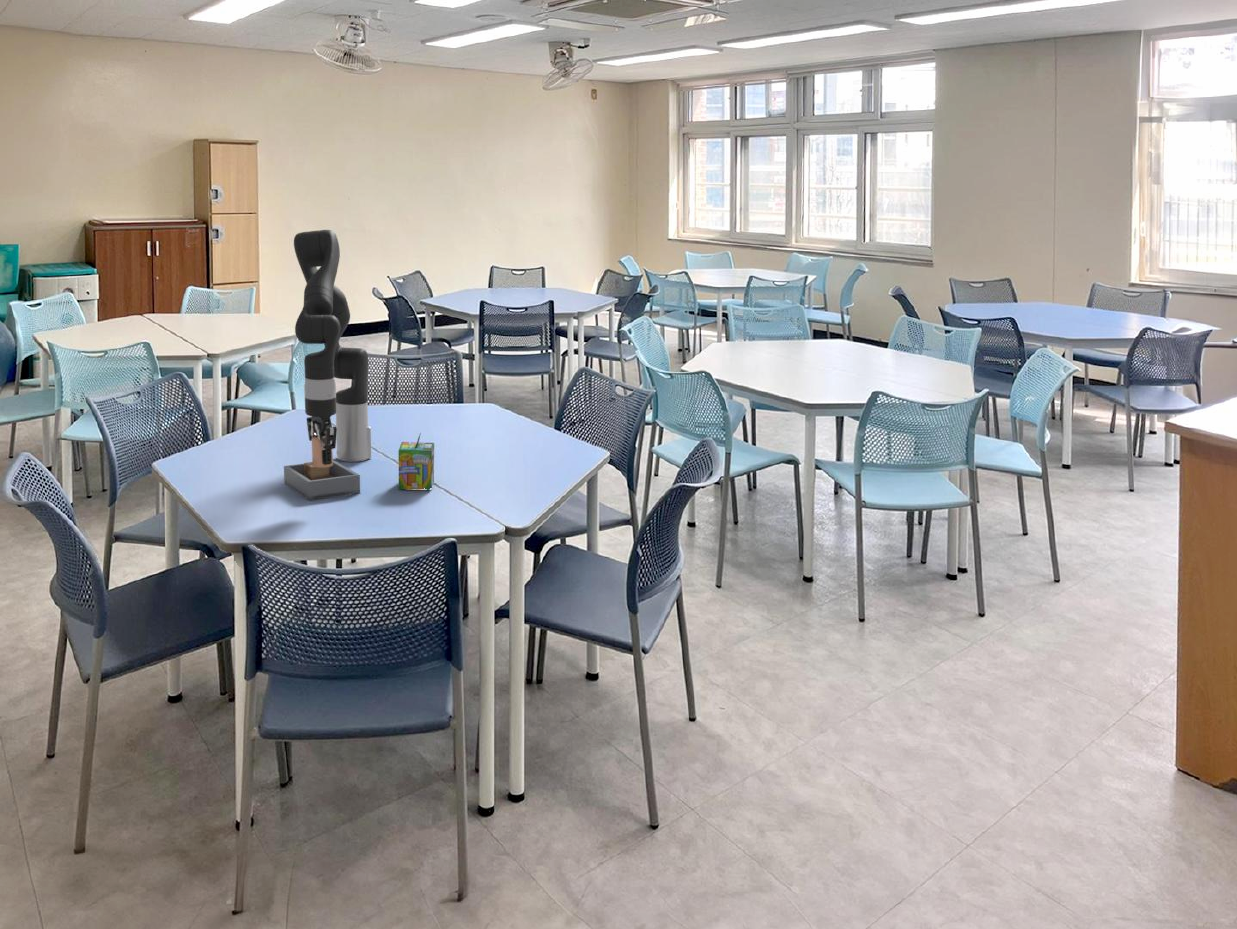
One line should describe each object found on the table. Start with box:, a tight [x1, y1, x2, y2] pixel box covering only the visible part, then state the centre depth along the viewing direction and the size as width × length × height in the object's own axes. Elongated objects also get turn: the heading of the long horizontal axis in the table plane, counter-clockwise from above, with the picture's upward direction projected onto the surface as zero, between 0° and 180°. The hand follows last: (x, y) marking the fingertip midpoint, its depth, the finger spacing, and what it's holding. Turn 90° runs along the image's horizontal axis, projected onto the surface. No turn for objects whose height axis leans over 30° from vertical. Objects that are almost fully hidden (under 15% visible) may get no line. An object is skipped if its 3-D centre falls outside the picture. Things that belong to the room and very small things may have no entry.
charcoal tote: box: [283, 459, 361, 501], centre depth 286 cm, size 14×18×5 cm
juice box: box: [398, 432, 435, 491], centre depth 291 cm, size 9×9×15 cm
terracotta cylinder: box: [311, 436, 334, 468], centre depth 268 cm, size 5×5×7 cm
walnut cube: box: [303, 461, 329, 480], centre depth 289 cm, size 5×5×5 cm
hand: (322, 461), depth 268 cm, fingers closed on terracotta cylinder, 5 cm apart
